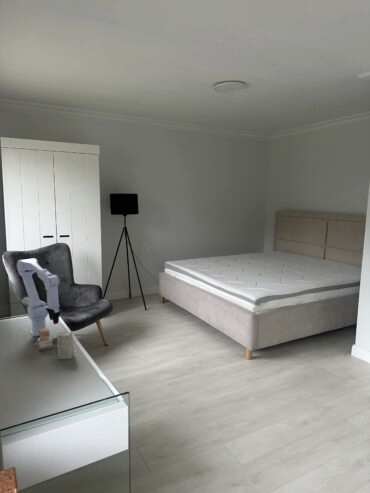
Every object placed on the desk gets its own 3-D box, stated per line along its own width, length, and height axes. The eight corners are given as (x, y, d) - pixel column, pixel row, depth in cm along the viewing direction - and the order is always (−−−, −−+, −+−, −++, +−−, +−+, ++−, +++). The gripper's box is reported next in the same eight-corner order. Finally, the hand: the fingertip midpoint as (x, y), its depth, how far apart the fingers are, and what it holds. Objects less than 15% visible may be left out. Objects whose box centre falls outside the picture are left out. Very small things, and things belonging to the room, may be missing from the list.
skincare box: (74, 355, 170) (73, 331, 168) (70, 359, 165) (69, 335, 164) (62, 354, 170) (60, 331, 169) (57, 358, 166) (56, 334, 164)
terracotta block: (39, 338, 180) (39, 329, 179) (47, 337, 182) (47, 328, 182) (41, 341, 177) (40, 332, 176) (49, 339, 179) (48, 330, 178)
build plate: (35, 344, 182) (34, 337, 181) (56, 340, 188) (56, 333, 188) (39, 351, 174) (38, 344, 173) (61, 346, 180) (61, 339, 180)
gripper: (41, 295, 189) (43, 319, 191) (48, 302, 177) (49, 327, 179) (55, 293, 193) (56, 316, 195) (62, 299, 181) (63, 324, 183)
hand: (54, 321), depth 187 cm, fingers open, 7 cm apart
